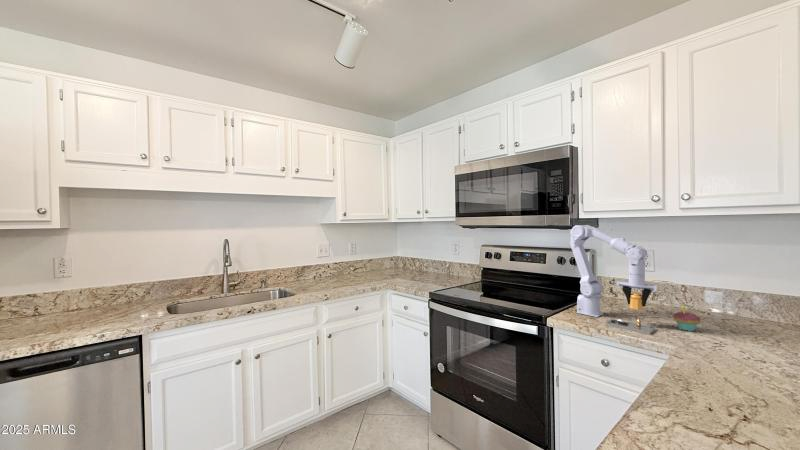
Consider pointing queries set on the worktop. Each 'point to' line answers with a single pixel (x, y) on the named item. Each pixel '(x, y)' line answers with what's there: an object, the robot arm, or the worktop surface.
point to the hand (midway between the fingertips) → (636, 304)
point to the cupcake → (686, 320)
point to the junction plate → (631, 325)
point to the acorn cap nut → (636, 301)
